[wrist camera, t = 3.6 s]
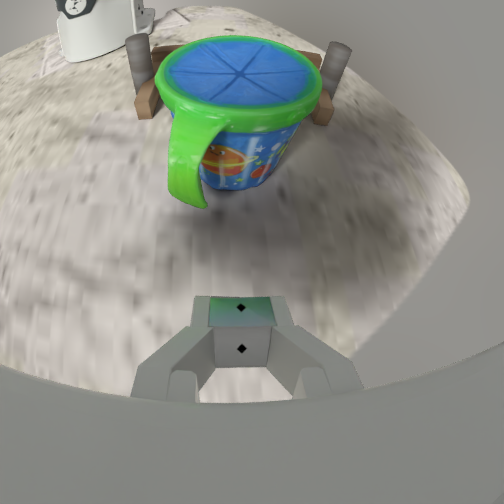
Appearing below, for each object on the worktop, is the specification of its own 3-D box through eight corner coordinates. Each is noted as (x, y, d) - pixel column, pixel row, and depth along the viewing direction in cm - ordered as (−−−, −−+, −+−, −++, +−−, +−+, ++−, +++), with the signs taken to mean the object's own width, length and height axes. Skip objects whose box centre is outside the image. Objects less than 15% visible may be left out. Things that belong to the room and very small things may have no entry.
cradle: (147, 72, 27) (139, 22, 20) (322, 79, 30) (339, 31, 22) (126, 120, 24) (109, 61, 17) (338, 127, 27) (365, 72, 19)
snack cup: (227, 96, 26) (233, 17, 17) (315, 134, 26) (348, 55, 16) (132, 198, 21) (90, 111, 12) (241, 259, 20) (258, 182, 11)
